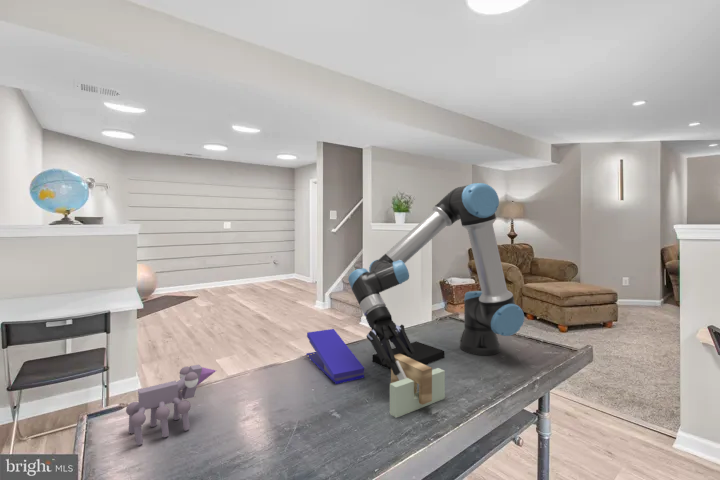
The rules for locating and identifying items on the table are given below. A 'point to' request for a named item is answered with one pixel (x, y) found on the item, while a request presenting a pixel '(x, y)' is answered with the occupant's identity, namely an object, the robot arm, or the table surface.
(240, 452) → the table surface
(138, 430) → the grey toy animal figure
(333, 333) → the blue foot pedal
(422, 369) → the tan wooden block
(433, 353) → the external hard drive
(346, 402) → the table surface
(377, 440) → the table surface
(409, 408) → the green u-shaped block
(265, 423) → the table surface
